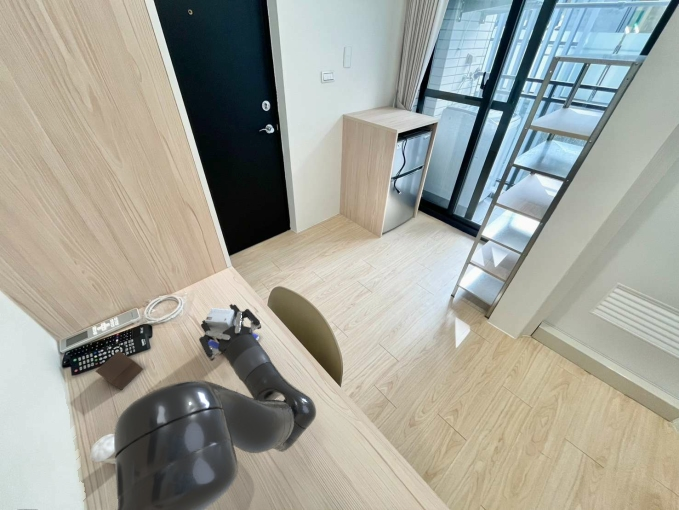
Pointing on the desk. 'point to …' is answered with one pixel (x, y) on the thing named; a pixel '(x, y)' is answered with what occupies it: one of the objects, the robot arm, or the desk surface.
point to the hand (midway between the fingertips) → (218, 314)
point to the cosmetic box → (220, 319)
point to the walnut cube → (119, 370)
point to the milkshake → (104, 450)
